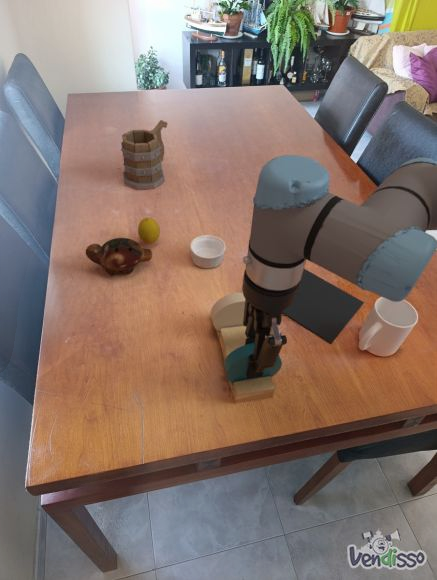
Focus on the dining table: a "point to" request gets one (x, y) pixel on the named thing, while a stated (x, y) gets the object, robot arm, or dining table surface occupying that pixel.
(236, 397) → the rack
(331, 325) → the mat
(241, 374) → the teal disc
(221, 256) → the ramekin
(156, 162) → the tankard
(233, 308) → the cream disc
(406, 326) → the mug
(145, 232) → the lemon
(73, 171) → the dining table surface
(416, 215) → the robot arm
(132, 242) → the brown piece
